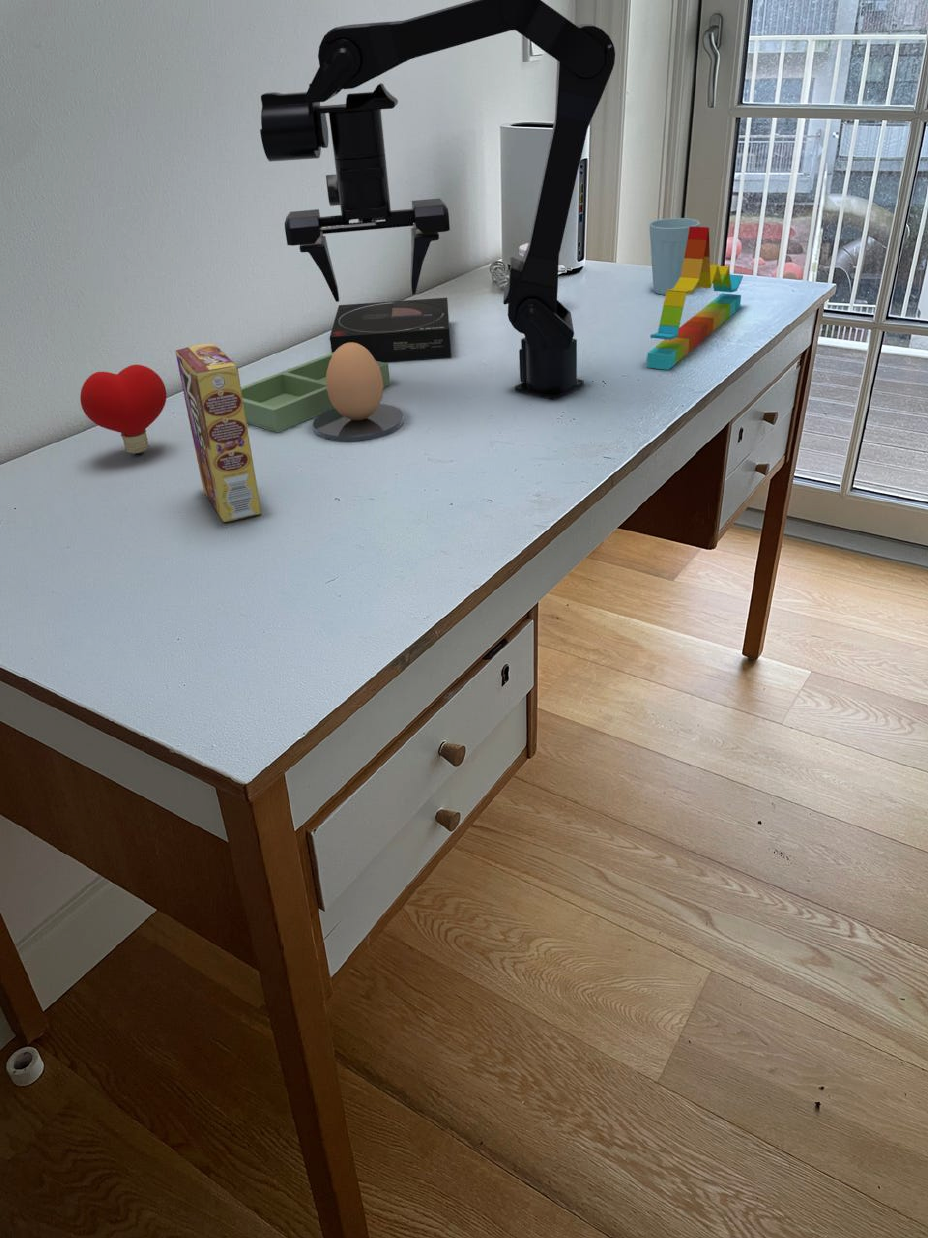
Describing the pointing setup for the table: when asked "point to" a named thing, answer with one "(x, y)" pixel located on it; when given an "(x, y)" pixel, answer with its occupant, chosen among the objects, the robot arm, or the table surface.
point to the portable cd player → (395, 329)
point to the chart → (692, 276)
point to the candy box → (219, 430)
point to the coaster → (358, 424)
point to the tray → (292, 395)
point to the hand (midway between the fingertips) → (375, 297)
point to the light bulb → (125, 403)
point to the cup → (668, 250)
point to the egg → (354, 382)
